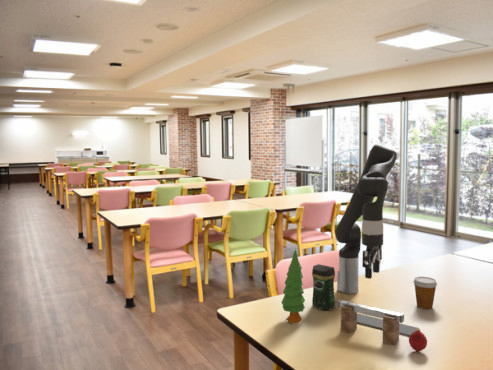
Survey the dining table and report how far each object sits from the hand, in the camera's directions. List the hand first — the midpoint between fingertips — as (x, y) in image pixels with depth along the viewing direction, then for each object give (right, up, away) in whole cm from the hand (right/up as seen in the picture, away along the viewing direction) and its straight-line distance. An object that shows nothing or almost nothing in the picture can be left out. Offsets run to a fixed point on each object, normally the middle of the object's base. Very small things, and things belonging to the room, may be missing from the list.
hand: (372, 275), depth 152 cm
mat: (+6, -22, +10) cm, 25 cm away
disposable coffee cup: (+31, -20, +28) cm, 46 cm away
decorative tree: (-28, -22, +16) cm, 39 cm away
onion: (+12, -24, -11) cm, 29 cm away
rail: (-1, -15, +1) cm, 15 cm away
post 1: (-7, -22, +6) cm, 24 cm away
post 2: (+6, -23, -3) cm, 24 cm away
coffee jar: (-13, -21, +29) cm, 38 cm away
